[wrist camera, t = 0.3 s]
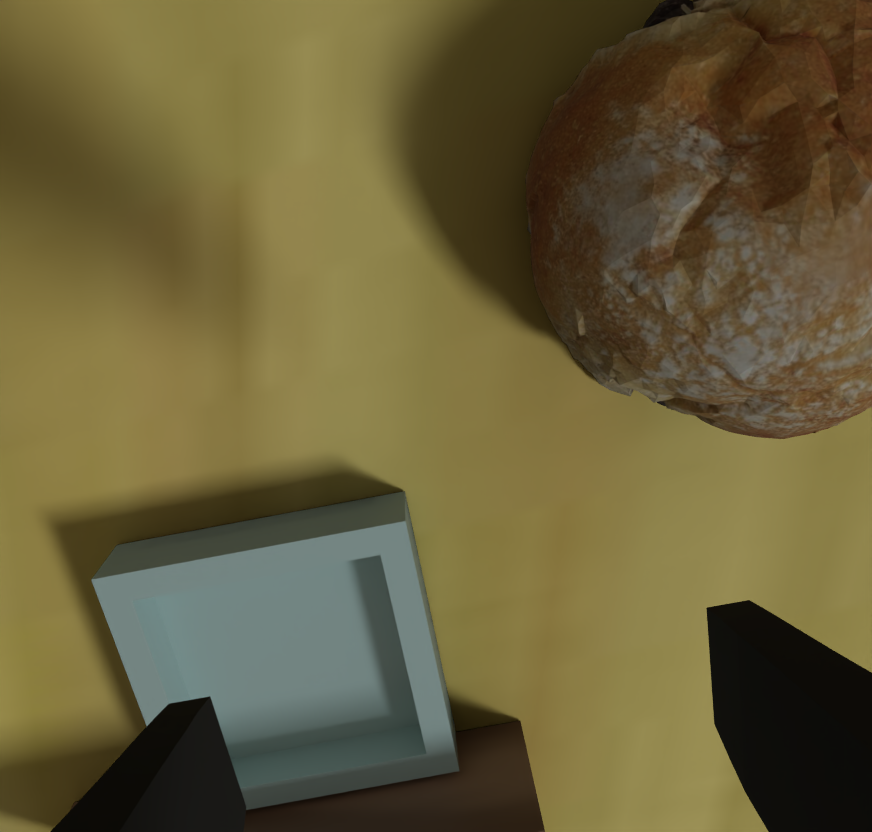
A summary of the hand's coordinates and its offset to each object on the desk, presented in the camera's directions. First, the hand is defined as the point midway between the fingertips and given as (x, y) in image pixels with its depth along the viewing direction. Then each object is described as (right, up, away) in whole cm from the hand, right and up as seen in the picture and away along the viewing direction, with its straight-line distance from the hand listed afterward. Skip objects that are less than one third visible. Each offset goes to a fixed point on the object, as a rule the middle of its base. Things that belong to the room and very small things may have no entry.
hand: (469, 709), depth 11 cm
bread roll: (+6, +10, +8) cm, 14 cm away
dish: (-5, -2, +11) cm, 12 cm away
